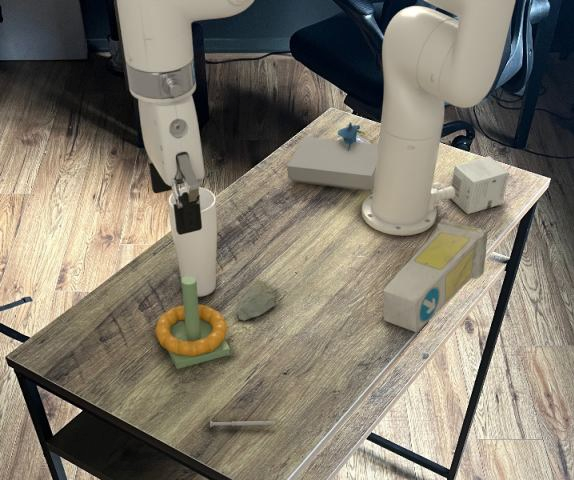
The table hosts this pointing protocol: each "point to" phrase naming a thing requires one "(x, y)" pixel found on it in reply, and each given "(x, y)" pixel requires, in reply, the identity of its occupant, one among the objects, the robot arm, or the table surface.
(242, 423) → the wall anchor
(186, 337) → the rack
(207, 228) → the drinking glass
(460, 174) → the product carton
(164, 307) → the table surface
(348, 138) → the toy figurine
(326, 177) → the flat grey box
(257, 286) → the rock
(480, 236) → the toppled traffic bollard
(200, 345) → the ring
